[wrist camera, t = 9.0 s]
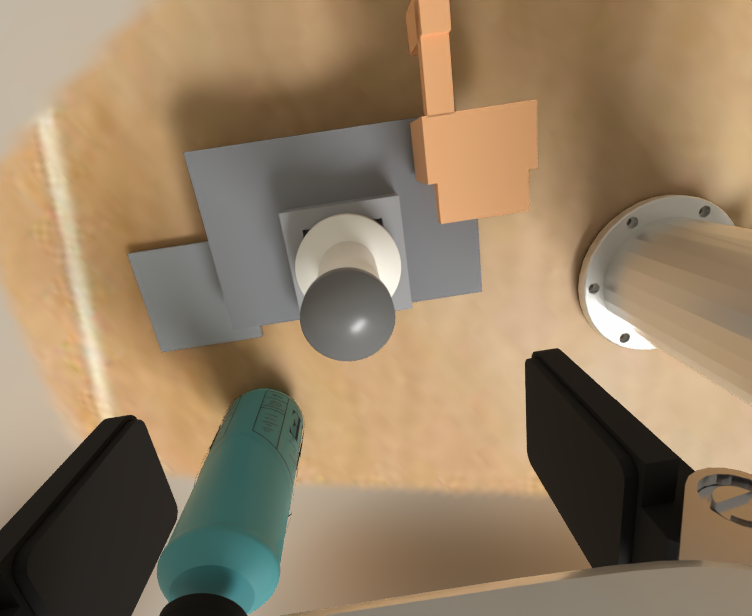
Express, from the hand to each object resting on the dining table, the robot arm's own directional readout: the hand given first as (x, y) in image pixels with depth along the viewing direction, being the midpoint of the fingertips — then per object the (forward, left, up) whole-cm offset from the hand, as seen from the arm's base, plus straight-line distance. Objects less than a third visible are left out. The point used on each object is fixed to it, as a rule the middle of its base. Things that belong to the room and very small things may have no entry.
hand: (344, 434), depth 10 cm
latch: (-8, -8, -19) cm, 22 cm away
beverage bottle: (+9, +13, -23) cm, 28 cm away
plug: (0, 0, -20) cm, 20 cm away
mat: (+12, +2, -23) cm, 26 cm away
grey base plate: (0, -2, -23) cm, 23 cm away
